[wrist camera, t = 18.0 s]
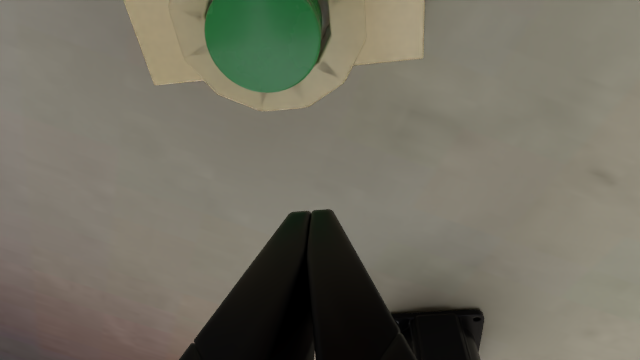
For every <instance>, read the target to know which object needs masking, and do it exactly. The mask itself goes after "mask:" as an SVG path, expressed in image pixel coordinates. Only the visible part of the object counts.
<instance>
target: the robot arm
mask: <svg viewBox="0 0 640 360" xmlns="http://www.w3.org/2000/svg"><path fill="white" fill-rule="evenodd" d="M483 323H484V316H483V313H482V311H480V310H461V311H441V312H421V313H402V314H390V312H389V310H388V308H387V306H386V305H385V303H384V301H383V299H382V297H381V296H380V294H379V292H378V290H377V289H376V287H375V285H374V283H373V281H372V280H371V278H370V276H369V274H368V273H367V271H366V269H365V267H364V265H363V264H362V262H361V260H360V258H359V257H358V255H357V253H356V251H355V249H354V248H353V246H352V244H351V242H350V241H349V239H348V237H347V235H346V233H345V232H344V230H343V228H342V226H341V225H340V223H339V221H338V219H337V217H336V216H335V214H334V212H333V211H332V210H330V209H326V210H314V211H313V212H312V213H310V212H309V211H299V212H291V213H290V214H289V215H288V216H287V217H286V219H285V220H284V221H283V223H282V224H281V225H280V227H279V228H278V229H277V231H276V232H275V233H274V235H273V236H272V237H271V239H270V240H269V241H268V242H267V244H266V245H265V246H264V248H263V249H262V250H261V252H260V253H259V254H258V256H257V257H256V258H255V260H254V261H253V262H252V264H251V265H250V266H249V268H248V269H247V270H246V272H245V273H244V274H243V276H242V277H241V278H240V280H239V281H238V282H237V284H236V285H235V286H234V288H233V289H232V290H231V292H230V293H229V294H228V296H227V297H226V298H225V300H224V301H223V302H222V304H221V305H220V306H219V308H218V309H217V310H216V312H215V313H214V314H213V316H212V317H211V318H210V319H209V321H208V322H207V323H206V325H205V326H204V327H203V329H202V330H201V331H200V333H199V334H198V335H197V337H196V338H195V339H194V343H195V344H194V343H192V344H190V346H189V347H188V348H187V350H186V351H185V352H184V354H183V355H182V356H181V358H180V359H179V360H314V353H315V355H316V360H480V356H479V353H478V352H479V346H480V341H481V335H482V329H483Z"/></svg>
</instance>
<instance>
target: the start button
mask: <svg viewBox="0 0 640 360" xmlns="http://www.w3.org/2000/svg"><path fill="white" fill-rule="evenodd" d="M204 32H205V41H206V45H207V48H208V51H209V54H210V56H211V58H212V60H213V61H214V63H215V64H216V66H217V67H218V69H219V70H220V71H221V72H222V73H223V74H224V75H225V76H226V77H227V78H228V79H230V80H231V81H232V82H234V83H235V84H237V85H239V86H241V87H243V88H245V89H248V90H251V91H256V92H263V93H273V92H279V91H283V90H286V89H289V88H291V87H293V86H295V85H297V84H298V83H300V82H301V81H302V80H303V79H305V77H306V76H307V75H308V74H309V73H310V72H311V70H312V69H313V67H314V65H315V64H316V62H317V59H318V56H319V52H320V47H321V34H322V14H321V8H320V5H319V2H318V0H213V1H212V2H211V4H210V6H209V8H208V11H207V14H206V19H205V27H204Z"/></svg>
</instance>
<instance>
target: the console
mask: <svg viewBox="0 0 640 360" xmlns="http://www.w3.org/2000/svg"><path fill="white" fill-rule="evenodd" d="M123 1H124V3H125V6H126V9H127V12H128V14H129V17H130V20H131V23H132V25H133V28H134V31H135V34H136V36H137V39H138V42H139V45H140V47H141V50H142V53H143V56H144V58H145V61H146V64H147V67H148V69H149V72H150V75H151V77H152V80H153V83H154V85H165V84H175V83H185V82H194V81H205V82H206V83H207V84H208V85H209V86H210V87H211V89H212V90H213V91H214V92H215V93H216V94H217V95H218V94H219V95H220V96H222V97H224V98H227V99H230V100H232V101H235V102H237V103H240V104H243V105H245V106H248V107H250V108H253V109H256V110H258V111H263V112H265V111H276V110H287V109H298V108H305V107H309V106H311V105H312V104H314V103H315V102H317V101H318V100H320V99H321V98H323V97H324V96H326V95H327V94H329V93H330V92H332V91H333V90H335V89H336V88H338V87H339V86H341V85H342V84H344V82H345V81H346V79H347V77H348V75H349V73H350V71H351V69H352V67H353V66H354V65H364V64H373V63H383V62H393V61H403V60H413V59H422V58H423V52H424V13H425V0H318V2H319V5H320V8H321V14H322V34H321V47H320V52H319V56H318V59H317V62H316V64H315V65H314V67H313V69H312V70H311V72H310V73H309V74H308V75H307V76H306V77H305V79H303V80H302V81H301V82H300V83H298V84H297V85H295V86H293V87H291V88H289V89H286V90H283V91H279V92H273V93H263V92H256V91H251V90H248V89H245V88H243V87H241V86H239V85H237V84H235V83H234V82H232V81H231V80H230V79H228V78H227V77H226V76H225V75H224V74H223V73H222V72H221V71H220V70H219V69H218V67H217V66H216V64H215V63H214V61H213V60H212V58H211V56H210V54H209V51H208V48H207V45H206V41H205V32H204V27H205V19H206V14H207V11H208V8H209V6H210V4H211V2H212V1H213V0H123Z"/></svg>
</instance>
